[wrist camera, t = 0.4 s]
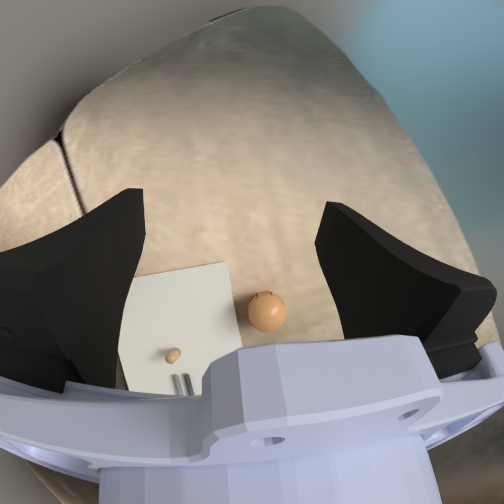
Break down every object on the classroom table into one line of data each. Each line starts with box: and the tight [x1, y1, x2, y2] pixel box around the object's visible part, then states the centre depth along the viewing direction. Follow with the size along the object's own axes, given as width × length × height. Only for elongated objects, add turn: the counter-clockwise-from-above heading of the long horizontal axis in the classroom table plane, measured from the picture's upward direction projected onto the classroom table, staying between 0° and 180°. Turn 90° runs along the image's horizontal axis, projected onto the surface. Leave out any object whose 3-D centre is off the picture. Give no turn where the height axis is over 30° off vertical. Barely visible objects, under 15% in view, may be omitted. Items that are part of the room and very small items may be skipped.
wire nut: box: [248, 291, 286, 332], centre depth 36 cm, size 4×4×4 cm
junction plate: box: [118, 262, 243, 396], centre depth 36 cm, size 22×18×4 cm
